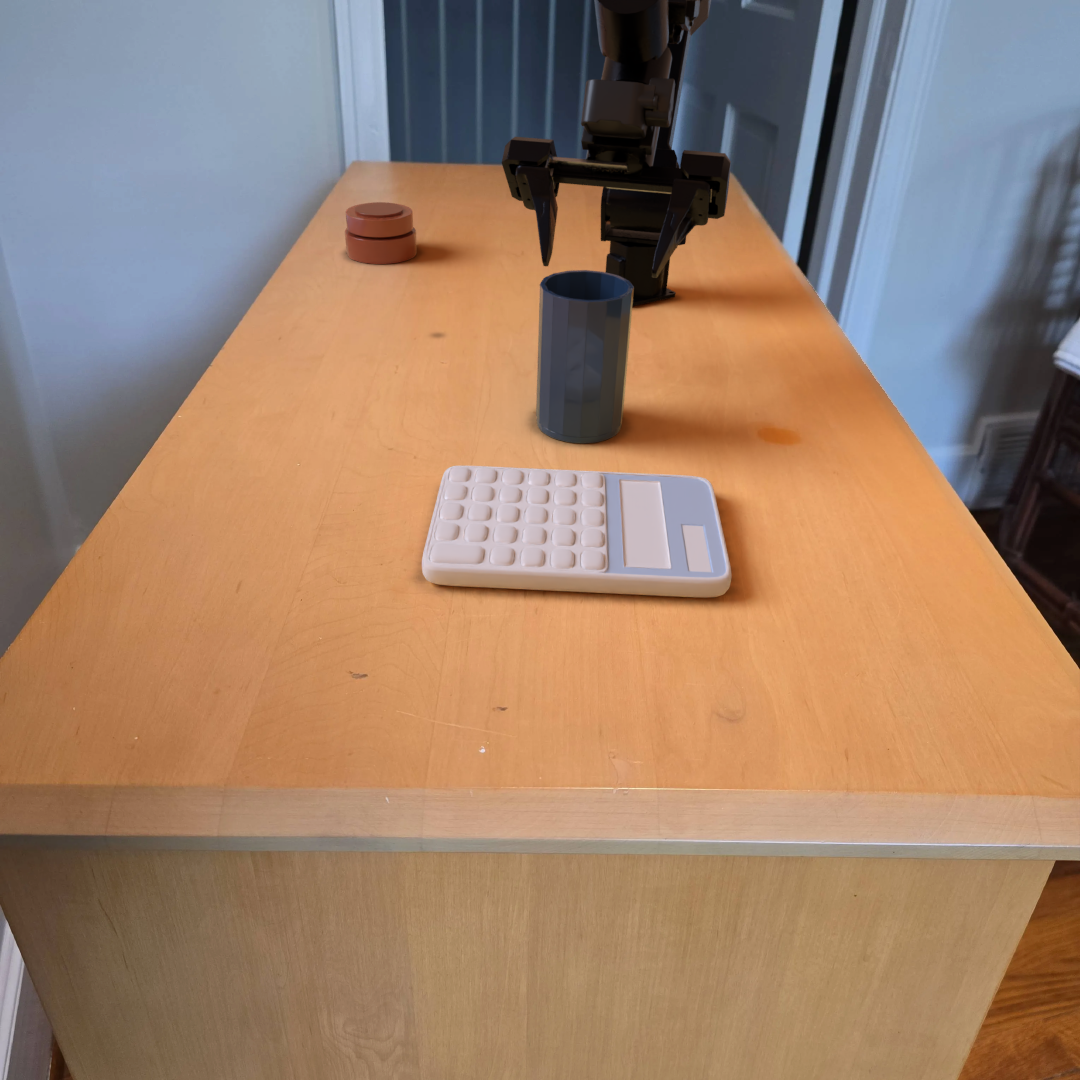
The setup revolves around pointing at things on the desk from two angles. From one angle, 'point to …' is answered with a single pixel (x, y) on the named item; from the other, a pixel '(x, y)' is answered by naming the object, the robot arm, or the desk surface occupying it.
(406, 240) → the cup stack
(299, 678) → the desk surface
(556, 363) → the tumbler
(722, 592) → the calculator
